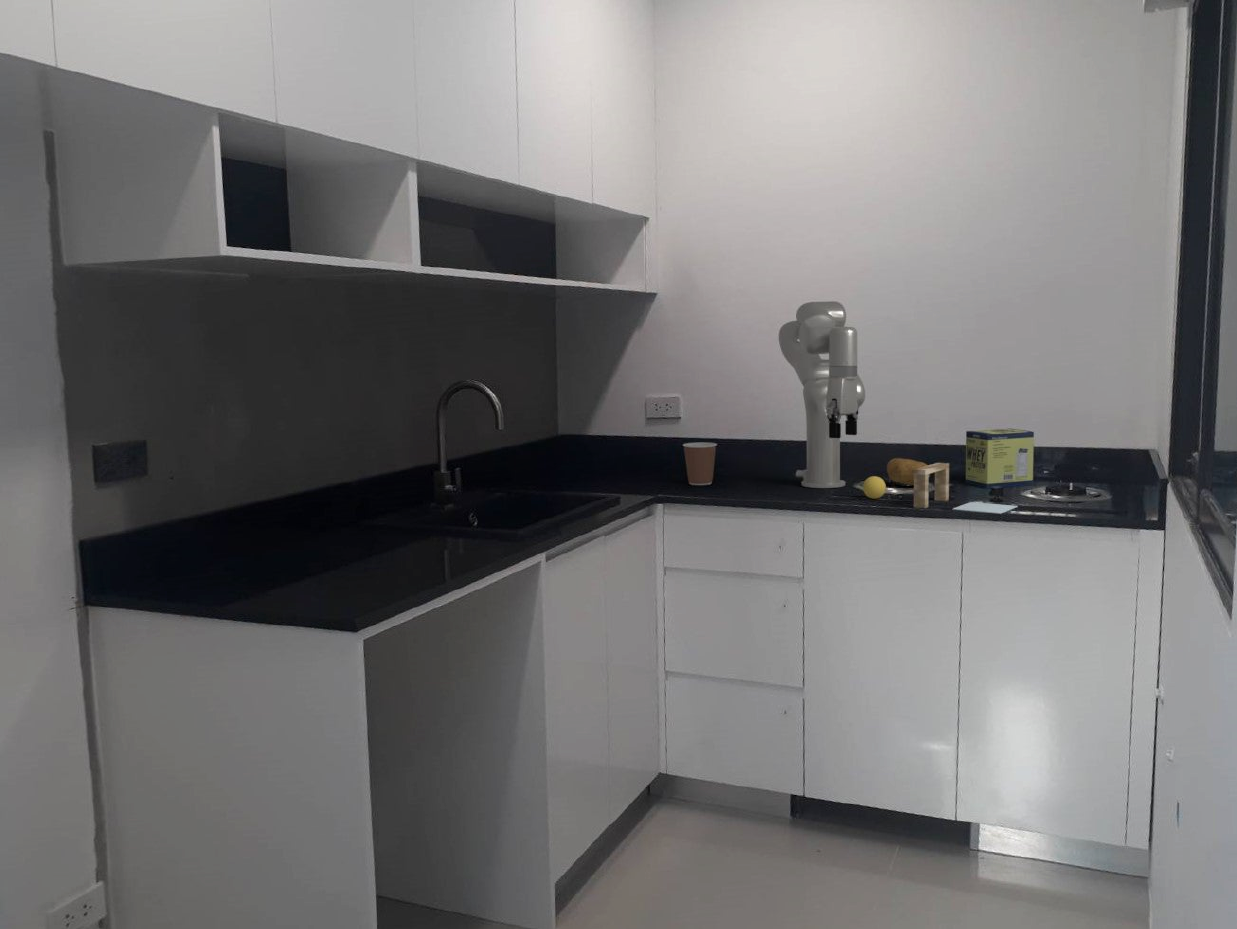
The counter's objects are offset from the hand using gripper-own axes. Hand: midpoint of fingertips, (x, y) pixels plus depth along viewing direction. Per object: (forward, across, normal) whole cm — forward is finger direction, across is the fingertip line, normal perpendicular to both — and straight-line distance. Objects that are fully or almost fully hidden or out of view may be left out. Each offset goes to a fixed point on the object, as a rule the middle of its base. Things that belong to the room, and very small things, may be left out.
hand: (843, 436), depth 284 cm
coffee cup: (+16, 0, -48) cm, 51 cm away
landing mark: (+17, 0, +39) cm, 43 cm away
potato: (+17, -24, +8) cm, 30 cm away
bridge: (+16, 0, +25) cm, 30 cm away
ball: (+13, 0, +9) cm, 16 cm away
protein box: (+17, -40, +29) cm, 52 cm away
